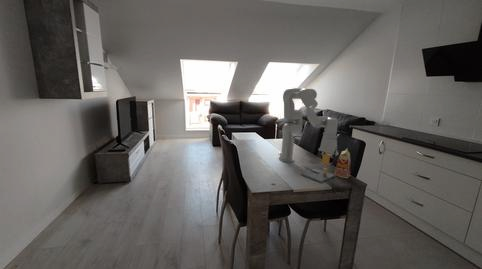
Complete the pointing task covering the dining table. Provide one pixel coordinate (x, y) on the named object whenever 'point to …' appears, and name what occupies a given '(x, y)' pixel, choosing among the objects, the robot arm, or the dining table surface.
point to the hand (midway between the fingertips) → (327, 161)
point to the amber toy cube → (326, 159)
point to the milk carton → (343, 165)
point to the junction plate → (318, 175)
